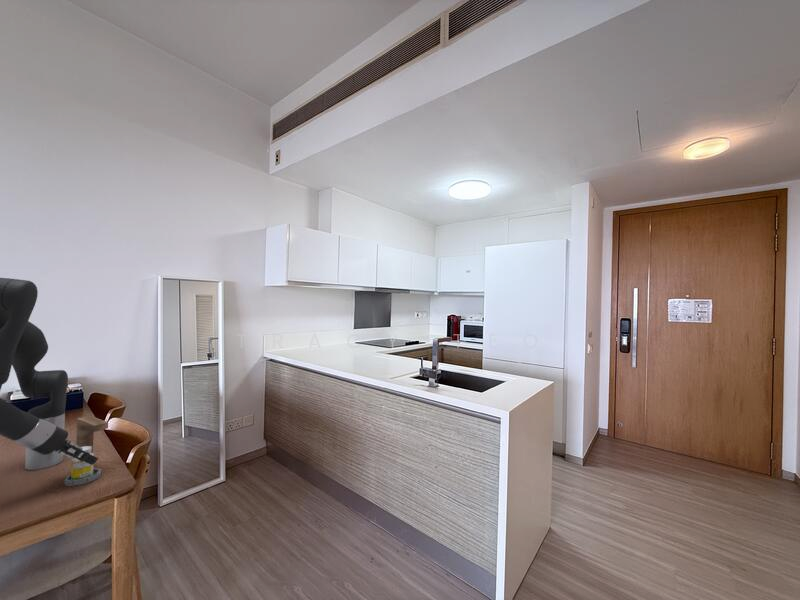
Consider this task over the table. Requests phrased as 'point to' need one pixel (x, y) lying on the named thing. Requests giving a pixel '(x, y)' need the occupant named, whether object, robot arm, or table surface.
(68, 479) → the locator ring
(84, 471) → the supplement bottle
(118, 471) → the table surface
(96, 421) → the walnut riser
